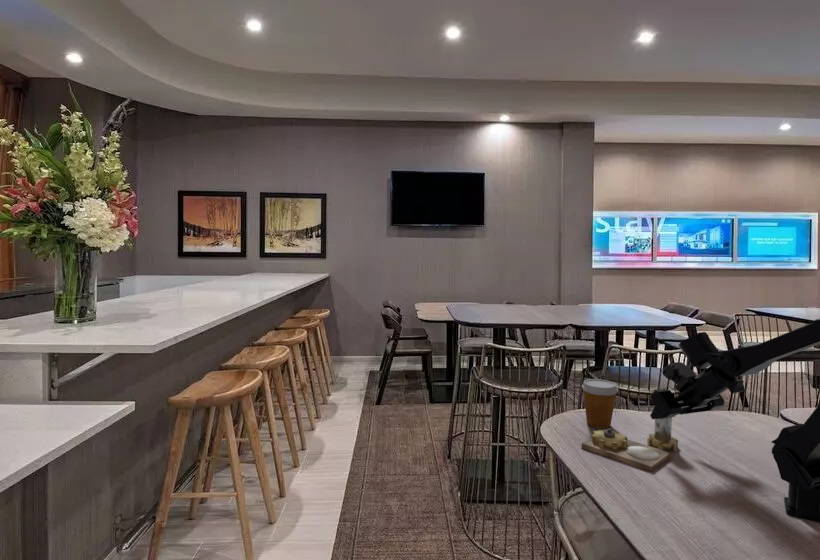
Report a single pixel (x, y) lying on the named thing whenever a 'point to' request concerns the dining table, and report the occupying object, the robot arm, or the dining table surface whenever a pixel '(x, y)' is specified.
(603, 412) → the disposable coffee cup
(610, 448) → the gear board
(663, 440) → the pinion
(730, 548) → the dining table surface
